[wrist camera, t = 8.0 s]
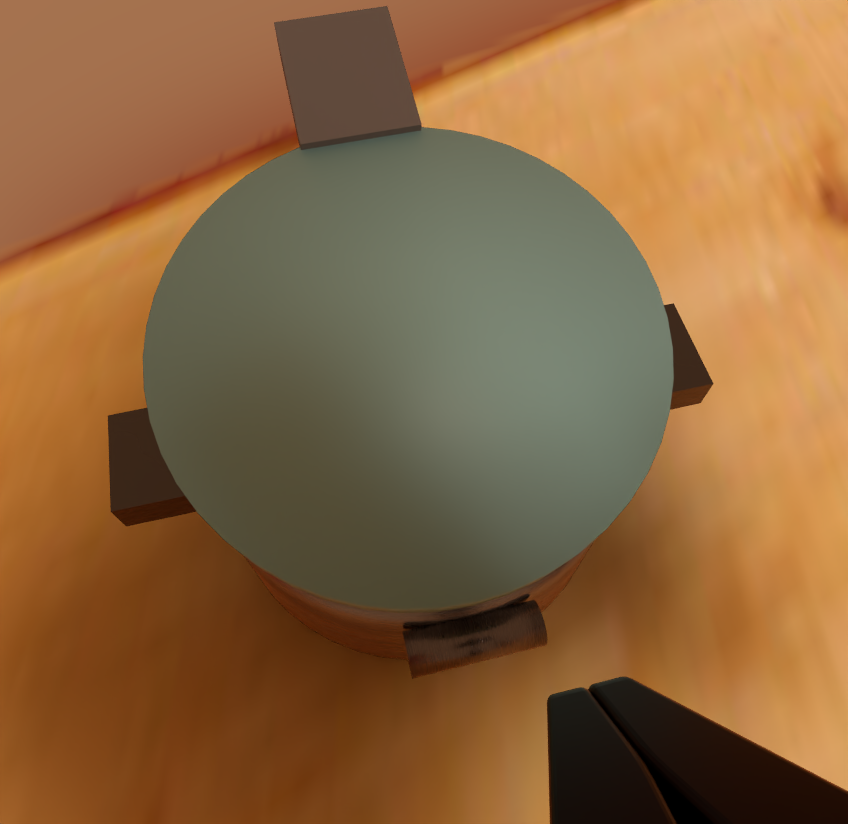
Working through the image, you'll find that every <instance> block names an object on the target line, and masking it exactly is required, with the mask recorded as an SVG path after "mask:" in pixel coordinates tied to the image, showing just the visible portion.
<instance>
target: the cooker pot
mask: <svg viewBox="0 0 848 824" xmlns="http://www.w3.org/2000/svg"><path fill="white" fill-rule="evenodd" d="M664 308H665V311H666V314H667V317H668V323H669V329H670V334H671V340H672V346H673V375H674V380H673V389H672V397H671V405H670V409H675V408H680V407H684V406H689V405H694V404H698V403H701V401H702V400H703V398H704V397H705V395H706V394H707V392H708V391H709V389H710V388H711V386H712V385H713V382H712V380H711V378H710V376H709V374H708V372H707V370H706V368H705V366H704V364H703V362H702V360H701V358H700V356H699V354H698V352H697V350H696V348H695V346H694V344H693V342H692V340H691V338H690V336H689V334H688V332H687V330H686V328H685V326H684V324H683V322H682V320H681V317H680V315H679V313H678V311H677V309H676V307H675V305H674V303H673V304H668V305H664ZM108 434H109V467H110V500H111V512H112V513H113V514H114V515H115V516H116V517H117V518H118V519H119V520H120V521H121V522H122V523H123V524H124V525H125V526H131V525H135V524H140V523H145V522H149V521H154V520H159V519H163V518H168V517H173V516H177V515H182V514H187V513H191V512H196V510H195V508H194V507H193V506H192V504H191V503H190V502H189V500H188V499H187V497H186V496H185V495H184V493H183V492H182V491H181V489H180V488H179V486H178V485H177V483H176V482H175V480H174V478H173V476H172V474H171V472H170V470H169V468H168V466H167V464H166V462H165V460H164V458H163V457H162V455H161V452H160V449H159V447H158V444H157V441H156V438H155V435H154V432H153V429H152V426H151V423H150V419H149V414H148V408H144V409H139V410H134V411H129V412H124V413H119V414H114V415H109V416H108ZM593 542H594V541H592V542H591V543H590V544H589V545H588V546H587V547H586V548H584V549H583V550H582V551H581V552H580V553H579V554H577V555H576V556H575V557H573V558H572V559H571V560H569V561H568V562H566V563H565V564H563V565H562V566H560V567H559V568H557V569H556V570H554V571H552V572H551V573H549V574H548V575H546V576H545V577H543V578H542V579H540V580H538V581H536V582H534V583H532V584H530V585H528V586H526V587H524V588H521V589H519V590H517V591H515V592H513V593H511V594H509V595H506V596H503V597H500V598H496V599H493V600H490V601H487V602H484V603H480V604H477V605H474V606H469V607H463V608H457V609H451V610H445V611H439V612H420V613H393V612H384V611H374V610H365V609H360V608H355V607H351V606H347V605H343V604H339V603H335V602H331V601H327V600H324V599H322V598H319V597H317V596H314V595H312V594H309V593H307V592H304V591H302V590H299V589H297V588H294V587H292V586H290V585H288V584H287V583H285V582H283V581H281V580H280V579H278V578H276V577H274V576H273V575H271V574H269V573H267V572H265V571H264V570H262V569H261V568H259V567H258V566H257V565H255V564H254V563H253V562H252V561H250V560H249V559H248V558H246V557H245V556H244V557H245V558H246V559H247V561H248V562H249V564H250V565H251V566H252V568H253V569H254V571H255V572H256V573H257V575H258V576H259V578H260V579H261V580H262V582H263V583H264V585H265V586H266V587H267V589H268V590H269V591H270V593H271V594H272V596H273V597H274V598H275V599H276V600H277V601H278V602H279V603H280V604H281V605H282V606H283V607H284V608H285V609H286V610H287V611H288V612H289V613H290V614H291V615H293V616H294V617H295V618H296V619H298V620H299V621H300V622H302V623H303V624H304V625H306V626H307V627H308V628H309V629H311V630H313V631H315V632H316V633H318V634H320V635H322V636H324V637H325V638H327V639H329V640H331V641H333V642H335V643H338V644H340V645H343V646H345V647H348V648H350V649H353V650H355V651H359V652H363V653H367V654H371V655H375V656H380V657H386V658H396V659H406V660H408V662H409V666H410V671H411V675H412V678H416V677H420V676H424V675H428V674H432V673H436V672H440V671H445V670H449V669H453V668H457V667H461V666H465V665H469V664H473V663H477V662H481V661H485V660H489V659H493V658H497V657H501V656H505V655H509V654H513V653H517V652H521V651H525V650H529V649H533V648H538V647H542V646H546V645H547V634H546V628H545V624H544V620H543V617H542V614H541V612H542V611H543V610H544V609H546V608H547V607H548V606H549V605H550V604H551V603H552V602H553V601H554V599H555V598H556V597H557V596H558V595H559V593H560V592H561V591H562V590H563V589H564V588H565V586H566V585H567V583H568V582H569V580H570V579H571V577H572V575H573V574H574V572H575V571H576V569H577V567H578V566H579V564H580V563H581V561H582V559H583V558H584V556H585V555H586V553H587V551H588V550H589V548H590V547H591V545H592V543H593Z"/></svg>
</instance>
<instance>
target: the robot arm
mask: <svg viewBox="0 0 848 824" xmlns="http://www.w3.org/2000/svg"><path fill="white" fill-rule="evenodd" d="M547 719H548V763H549V806H550V824H848V791H846V790H844V789H843V788H841V787H839V786H837V785H835V784H833V783H831V782H829V781H827V780H825V779H823V778H821V777H819V776H818V775H816V774H814V773H812V772H810V771H808V770H806V769H804V768H802V767H800V766H798V765H796V764H795V763H793V762H791V761H789V760H787V759H785V758H783V757H781V756H779V755H777V754H775V753H773V752H772V751H770V750H768V749H766V748H764V747H762V746H760V745H758V744H756V743H754V742H752V741H750V740H748V739H747V738H745V737H743V736H741V735H739V734H737V733H735V732H733V731H731V730H729V729H727V728H725V727H724V726H722V725H720V724H718V723H716V722H714V721H712V720H710V719H708V718H706V717H704V716H702V715H701V714H699V713H697V712H695V711H693V710H691V709H689V708H687V707H685V706H683V705H681V704H679V703H677V702H676V701H674V700H672V699H670V698H668V697H666V696H664V695H662V694H660V693H658V692H656V691H654V690H653V689H651V688H649V687H647V686H645V685H643V684H641V683H639V682H637V681H635V680H633V679H631V678H628V677H619V678H615V679H611V680H607V681H603V682H599V683H595V684H593V685H591V686H590V687H589V689H588V690H587V689H585V688H576V689H572V690H568V691H564V692H560V693H556V694H552V695H550V697H549V698H548V700H547Z"/></svg>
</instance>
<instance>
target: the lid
mask: <svg viewBox="0 0 848 824" xmlns="http://www.w3.org/2000/svg"><path fill="white" fill-rule="evenodd" d="M274 24H275V30H276V35H277V41H278V46H279V51H280V56H281V61H282V66H283V71H284V76H285V80H286V85H287V90H288V94H289V99H290V104H291V108H292V113H293V118H294V122H295V127H296V132H297V136H298V141H299V146H300V147H299V148H297V149H295V150H292V151H290V152H288V153H286V154H284V155H282V156H279V157H277V158H275V159H273V160H271V161H270V162H268V163H266V164H265V165H263V166H261V167H260V168H258V169H256V170H255V171H253V172H251V173H250V174H248V175H247V176H245V177H244V178H243V179H241V180H240V181H239V182H238V183H236V184H235V185H234V186H232V187H231V188H230V189H229V190H227V191H226V192H225V193H223V194H222V195H221V196H220V197H219V198H218V199H217V200H216V201H215V202H214V203H213V204H212V205H211V206H210V207H209V208H208V209H207V210H206V211H205V212H204V213H203V214H202V215H201V216H200V218H199V219H198V220H197V221H196V223H195V224H194V225H193V227H192V228H191V229H190V230H189V232H188V233H187V234H186V236H185V237H184V238H183V239H182V241H181V243H180V244H179V246H178V248H177V249H176V251H175V253H174V254H173V256H172V258H171V260H170V261H169V263H168V265H167V266H166V269H165V271H164V273H163V276H162V278H161V281H160V283H159V285H158V288H157V290H156V293H155V295H154V299H153V302H152V306H151V310H150V314H149V318H148V322H147V325H146V334H145V343H144V352H143V375H144V392H145V398H146V403H147V408H148V414H149V419H150V423H151V426H152V429H153V432H154V435H155V438H156V441H157V444H158V447H159V449H160V452H161V455H162V457H163V458H164V460H165V462H166V464H167V466H168V468H169V470H170V472H171V474H172V476H173V478H174V480H175V482H176V483H177V485H178V486H179V488H180V489H181V491H182V492H183V493H184V495H185V496H186V497H187V499H188V500H189V502H190V503H191V504H192V506H193V507H194V508H195V510H196V511H197V513H198V514H199V515H200V516H201V517H202V518H203V519H204V520H205V521H206V522H207V523H208V524H209V525H210V526H211V527H212V528H213V529H214V530H215V531H216V532H217V533H218V534H219V535H220V536H221V537H222V538H223V539H224V540H225V541H226V542H227V543H229V544H230V545H231V546H232V547H233V548H235V549H236V550H237V551H238V552H240V553H241V554H242V555H244V556H245V557H246V558H248V559H249V560H250V561H252V562H253V563H254V564H255V565H257V566H258V567H259V568H261V569H262V570H264V571H265V572H267V573H269V574H271V575H273V576H274V577H276V578H278V579H280V580H281V581H283V582H285V583H287V584H288V585H290V586H292V587H294V588H297V589H299V590H302V591H304V592H307V593H309V594H312V595H314V596H317V597H319V598H322V599H324V600H327V601H331V602H335V603H339V604H343V605H347V606H351V607H355V608H360V609H365V610H374V611H384V612H393V613H420V612H439V611H445V610H451V609H457V608H463V607H469V606H474V605H477V604H480V603H484V602H487V601H490V600H493V599H496V598H500V597H503V596H506V595H509V594H511V593H513V592H515V591H517V590H519V589H521V588H524V587H526V586H528V585H530V584H532V583H534V582H536V581H538V580H540V579H542V578H543V577H545V576H546V575H548V574H549V573H551V572H552V571H554V570H556V569H557V568H559V567H560V566H562V565H563V564H565V563H566V562H568V561H569V560H571V559H572V558H573V557H575V556H576V555H577V554H579V553H580V552H581V551H582V550H583V549H584V548H586V547H587V546H588V545H589V544H590V543H591V542H592V541H594V540H595V539H596V538H597V537H598V536H599V535H600V534H602V533H603V532H604V531H605V530H606V529H607V528H608V527H609V526H610V525H611V523H612V522H613V521H614V520H615V519H616V518H617V516H618V515H619V514H620V513H621V512H622V510H623V509H624V508H625V507H626V506H627V505H628V503H629V502H630V501H631V499H632V498H633V496H634V494H635V493H636V491H637V490H638V488H639V486H640V485H641V483H642V482H643V480H644V478H645V477H646V475H647V474H648V472H649V469H650V467H651V465H652V463H653V460H654V458H655V456H656V453H657V451H658V449H659V447H660V444H661V442H662V438H663V434H664V431H665V427H666V423H667V420H668V416H669V412H670V405H671V397H672V389H673V380H674V375H673V346H672V340H671V334H670V329H669V323H668V317H667V314H666V311H665V308H664V305H663V301H662V298H661V295H660V292H659V289H658V286H657V284H656V282H655V280H654V278H653V276H652V274H651V272H650V269H649V267H648V265H647V263H646V261H645V259H644V258H643V256H642V255H641V253H640V252H639V250H638V248H637V247H636V245H635V244H634V242H633V241H632V239H631V237H630V236H629V235H628V233H627V232H626V231H625V230H624V229H623V227H622V226H621V225H620V224H619V223H618V221H617V220H616V219H615V218H614V217H613V215H612V214H611V213H610V212H609V211H608V210H607V209H606V208H605V207H604V206H603V205H602V204H601V203H600V202H599V201H597V200H596V199H595V198H594V197H593V196H592V195H591V194H590V193H589V192H588V191H587V190H585V189H584V188H583V187H581V186H580V185H579V184H577V183H576V182H575V181H573V180H572V179H571V178H569V177H568V176H567V175H565V174H564V173H562V172H560V171H559V170H557V169H555V168H554V167H552V166H550V165H548V164H547V163H545V162H543V161H542V160H540V159H538V158H536V157H534V156H532V155H529V154H527V153H525V152H523V151H520V150H518V149H516V148H514V147H511V146H509V145H506V144H503V143H500V142H497V141H493V140H490V139H487V138H484V137H481V136H476V135H472V134H467V133H462V132H457V131H452V130H444V129H434V128H424V127H421V121H420V118H419V114H418V111H417V107H416V104H415V100H414V97H413V93H412V90H411V87H410V83H409V80H408V76H407V73H406V69H405V66H404V62H403V59H402V55H401V52H400V48H399V45H398V42H397V38H396V35H395V31H394V28H393V24H392V21H391V17H390V14H389V11H388V7H387V6H385V7H378V8H371V9H364V10H357V11H350V12H344V13H336V14H329V15H323V16H316V17H309V18H303V19H296V20H288V21H282V22H275V23H274Z"/></svg>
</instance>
